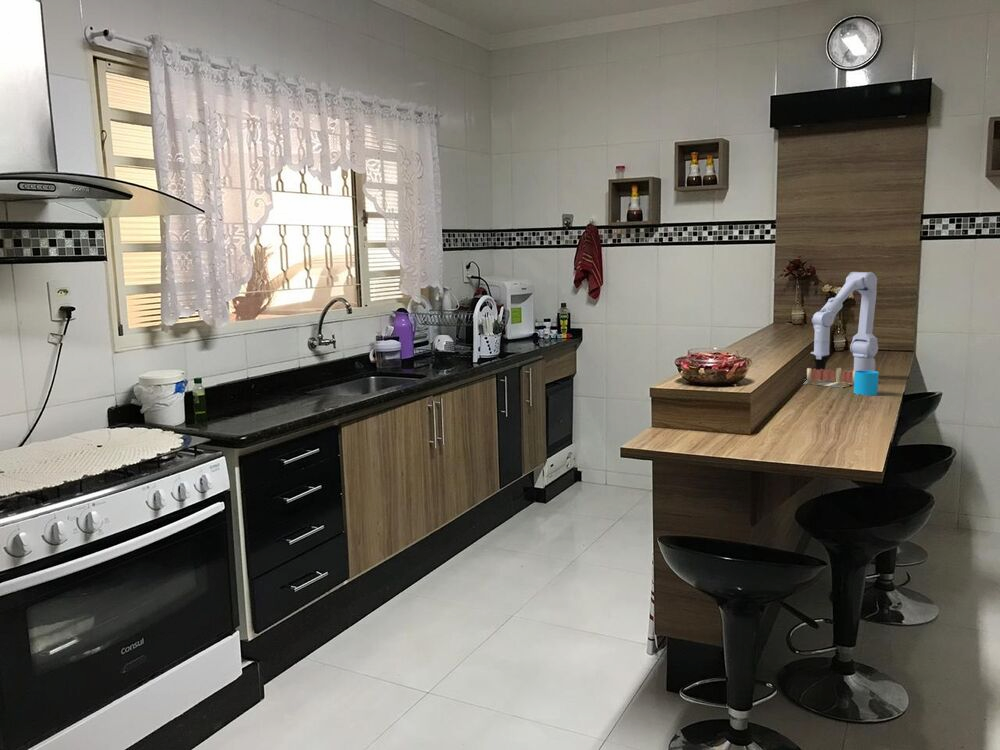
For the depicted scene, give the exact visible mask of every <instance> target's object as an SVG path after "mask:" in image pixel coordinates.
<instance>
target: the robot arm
mask: <svg viewBox="0 0 1000 750" xmlns="http://www.w3.org/2000/svg"><path fill="white" fill-rule="evenodd" d="M877 283H878V277H877V276H876V274H875V272H873V271H869V272H867V271H865V272H863V271H860V272H859V271H851V272H850V273H849V274H848V275H847V276H846V278H845V283H844V284H843V286H842V287H841V289H840V290H839V291H838V293H836V295H835V296H834V297H831V298H828V300H827V302H826V303H825V305H823V306H822V308H821V309H820V310H819V311H816V312H815V313H814V314H813V316H812V318H811V323H812V325H813V329H814V339H813V351H811V352H810V354H811V355H813V361H814V363H815V365H816V367H815V368H816V370H821V369H823V370H826V367H827V363H828V361H829V360H830V357H829V355H830V338H831V336H830V334H831V326H832V325H833V324H834V321H835V318H836V315H837V314H838V313H839V311H840V310H842V308H843V306H844V304H843V303H844V302H845V301H846V299H847V298H848V297H849V296H850V295H852V293H854V292H855V291H857V292H858V293H859V294H860V295H861V301H860V308H859V309H860V310H859V319H858V328H857V333H856V334H855V335H853V336H852V341H851V343H850V346H849V351H850V353H851V354H852V356H853V370H852V371H859V370H868V371H876V359H875V356H876V355H877V354H878V351H879V345H878V344H879V343H878V337H876V335H874V334H873V330H874V322H875V319H874V318H875V311H876V310H875V309H876V302H877V301H876V300H877V292H878V291H877V286H878V285H877ZM814 356H815V357H814Z"/></svg>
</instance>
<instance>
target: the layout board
mask: <svg viewBox="0 0 1000 750" xmlns="http://www.w3.org/2000/svg"><path fill="white" fill-rule="evenodd" d="M805 380H806V379H805ZM818 381H820V380H818ZM823 381H826V380H823ZM833 382H834V383H833ZM807 383H808V381H807V380H806V381H805V382H804V383H803V384H802V385H806V384H807ZM838 383H845V382H835V381H827V382H822V383H818V385H823V386H822V387H826V386H832V387H831V388H836V387H841V386H840V385H838V386H837V384H838ZM848 384H852V383H848ZM843 387H846V386H843ZM843 387H842V388H841V389H844V388H843ZM846 388H847V387H846Z"/></svg>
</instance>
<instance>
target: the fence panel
mask: <svg viewBox="0 0 1000 750" xmlns="http://www.w3.org/2000/svg"><path fill="white" fill-rule="evenodd" d="M835 374H836V369H835V370H834V369H832V370H831V369H830V368H828V369H825V370H823V369H821V370H817V368H812V367H807V368H806V379H807V381H811V380H813V381H815V380H820V381H823V380H828V381H834V378H835Z"/></svg>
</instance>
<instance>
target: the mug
mask: <svg viewBox="0 0 1000 750" xmlns="http://www.w3.org/2000/svg"><path fill="white" fill-rule="evenodd" d="M879 372H880V371H876V370H875V371H868V370H859V371H855V378H854V385H853V394H854V393H856V394H855V395H858V394H861V395H860V396H877V395H878V394H879V393H878V392H879V376H880V375H879V374H880V373H879ZM876 394H877V395H876Z"/></svg>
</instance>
